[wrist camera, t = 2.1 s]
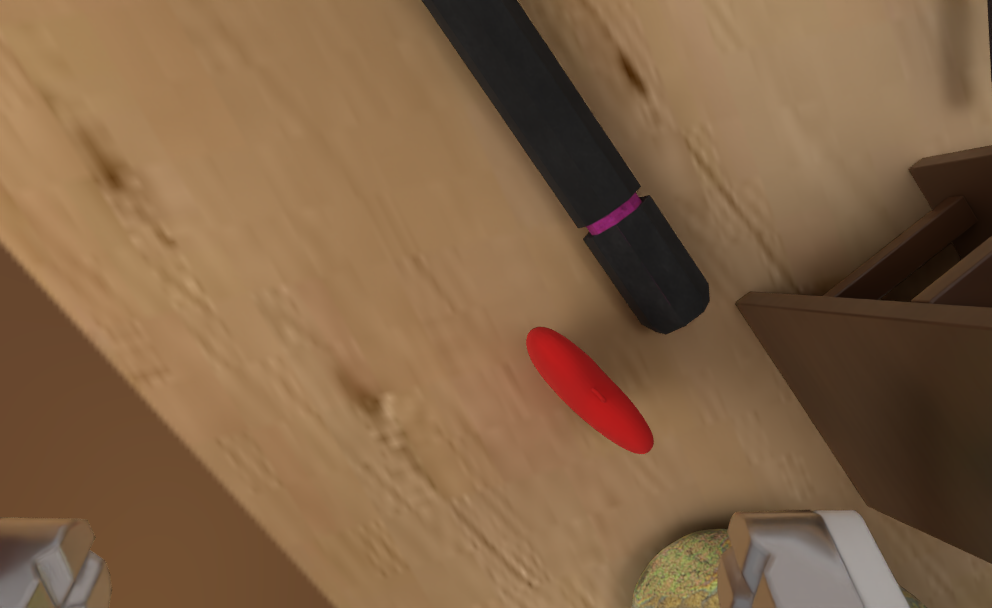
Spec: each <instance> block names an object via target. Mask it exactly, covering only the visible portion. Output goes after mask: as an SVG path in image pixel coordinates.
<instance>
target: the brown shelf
mask: <svg viewBox="0 0 992 608" xmlns="http://www.w3.org/2000/svg"><path fill="white" fill-rule="evenodd" d="M909 171H910V173H911V175H912V176H913V178H914V180H915V181H916V183H917V185H918V186H919V188H920V190H921V191H922V193H923V195H924V196H925V198H926V200H927V201H928V203H929V205H930V206H931V208H932V210H931V211H930V212H929V213H927V214H926V215H925V216H924V217H922V218H921V219H920V220H918V221H917V222H916V223H915V224H913V225H912V226H911V227H910V228H908V229H907V230H906V231H904V232H903V233H902V234H901V235H899V236H898V237H897V238H896V239H894V240H893V241H892V242H890V243H889V244H888V245H887V246H885V247H884V248H883V249H882V250H880V251H879V252H878V253H876V254H875V255H874V256H873V257H871V258H870V259H869V260H867V261H866V262H865V263H864V264H862V265H861V266H860V267H859V268H857V269H856V270H855V271H853V272H852V273H851V274H850V275H848V276H847V277H846V278H845V279H843V280H842V281H841V282H839V283H838V284H837V285H836V286H834V287H833V288H832V289H831V290H829V291H828V292H827V293H825V294H824V295H823V296H809V295H794V294H779V293H764V292H749V293H748V294H746V295H745V296H744V297H742V298H741V299H740V300H739V301H737V302H736V306H737V307H738V309H739V310H740V312H741V313H742V315H743V316H744V318H745V319H746V321H747V322H748V324H749V325H750V327H751V329H752V330H753V332H754V333H755V335H756V336H757V338H758V339H759V341H760V342H761V344H762V345H763V347H764V348H765V350H766V351H767V353H768V354H769V356H770V358H771V359H772V361H773V362H774V364H775V365H776V367H777V368H778V370H779V371H780V373H781V374H782V376H783V377H784V379H785V380H786V382H787V384H788V385H789V387H790V388H791V390H792V391H793V393H794V394H795V396H796V397H797V399H798V400H799V402H800V403H801V405H802V406H803V408H804V409H805V411H806V413H807V414H808V416H809V417H810V419H811V420H812V422H813V423H814V425H815V426H816V428H817V429H818V431H819V432H820V434H821V435H822V437H823V438H824V440H825V442H826V443H827V445H828V446H829V448H830V449H831V451H832V452H833V454H834V455H835V457H836V458H837V460H838V461H839V463H840V464H841V466H842V468H843V469H844V471H845V472H846V474H847V475H848V477H849V478H850V480H851V481H852V483H853V484H854V486H855V487H856V489H857V490H858V492H859V493H860V495H861V497H862V498H863V500H864V501H865V503H866V504H867V506H869V507H871V508H873V509H875V510H877V511H879V512H881V513H884V514H886V515H888V516H890V517H892V518H894V519H897V520H899V521H901V522H903V523H905V524H907V525H909V526H912V527H914V528H916V529H918V530H920V531H922V532H925V533H927V534H929V535H931V536H933V537H935V538H937V539H940V540H942V541H944V542H946V543H948V544H950V545H953V546H955V547H957V548H959V549H961V550H963V551H965V552H968V553H970V554H972V555H974V556H976V557H978V558H981V559H983V560H985V561H987V562H989V563H991V564H992V145H991V146H985V147H980V148H974V149H969V150H964V151H958V152H953V153H948V154H942V155H937V156H931V157H926V158H922V159H921V160H920V161H918V162H917V163H916V164H914V165H913V166H912V167H910V168H909ZM951 242H952V243H953V245H954V247H955V248H956V250H957V252H958V253H959V255H960V257H961V258H962V260H961V261H960V262H958V263H957V264H956V265H955V266H953V267H952V268H951V269H950V270H948V271H947V272H946V273H945V274H943V275H942V276H941V277H940V278H938V279H937V280H936V281H935V282H933V283H932V284H931V285H930V286H928V287H927V288H926V289H925V290H923V291H922V292H921V293H920V294H918V295H917V296H916V297H915V298H913V299H912V300H911V302H900V301H884V300H879V299H881V298H882V297H883V296H884V295H886V294H887V293H888V292H889V291H891V290H892V289H893V288H894V287H896V286H897V285H898V284H899V283H901V282H902V281H903V280H904V279H906V278H907V277H908V276H909V275H911V274H912V273H913V272H915V271H916V270H917V269H918V268H920V267H921V266H922V265H923V264H925V263H926V262H927V261H928V260H930V259H931V258H932V257H933V256H935V255H936V254H937V253H938V252H940V251H941V250H942V249H943V248H945V247H946V246H947V245H948V244H950V243H951Z"/></svg>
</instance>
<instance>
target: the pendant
mask: <svg viewBox="0 0 992 608" xmlns="http://www.w3.org/2000/svg"><path fill="white" fill-rule="evenodd" d="M526 345H527V350H528V353H529V356H530V358H531V360H532V362H533V364H534V366H535V367H536V369H537V370H538V372H539V373H540V375H541V376H542V377H543V378H544V380H545V381H546V382H547V383H548V384H549V386H550V387H551V388H552V389H553V390H554V391H555V392H556V393H557V394H558V396H559V397H560V398H561V399H562V400H563V401H564V402H565V403H566V404H567V405H568V406H569V407H570V408H571V409H572V410H573V411H574V412H576V413H577V414H578V415H579V416H580V417H581V418H582V419H583V420H585V421H586V422H587V423H588V424H589V425H591V426H592V427H593V428H594V429H596V430H597V431H598V432H600V433H601V434H602V435H604V436H605V437H606V438H608V439H609V440H611V441H612V442H614V443H615V444H617V445H619V446H620V447H622V448H624V449H626V450H628V451H631V452H633V453H637V454H645V453H648V452H649V451H650V450H651V449H652V447H653V444H654V440H653V435H652V432H651V430H650V428H649V426H648V424H647V423H646V421H645V419H644V418H643V416H642V415H641V414H640V412H639V411H638V409H637V408H636V407H635V406H634V404H633V403H632V402H631V401H630V399H629V398H628V397H627V396H626V395H625V394H624V393H623V391H622V390H621V389H620V388H619V387H618V386H617V385H616V384H615V383H614V382H613V381H612V380H611V379H610V378H609V377H608V376H607V375H606V374H605V373H604V372H603V371H602V370H601V369H600V367H599V366H598V365H597V364H596V363H595V362H594V361H593V360H592V359H591V358H590V357H589V356H588V355H587V354H586V353H585V352H584V351H582V350H581V349H580V348H579V347H577V346H576V345H575V344H574V343H572V342H571V341H570V340H568V339H567V338H566V337H564V336H563V335H561V334H559V333H558V332H556V331H554V330H552V329H549V328H545V327H536V328H534V329H532V330H531V331H530V332H529V333H528V335H527V339H526Z"/></svg>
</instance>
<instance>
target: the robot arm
mask: <svg viewBox="0 0 992 608" xmlns="http://www.w3.org/2000/svg"><path fill="white" fill-rule="evenodd" d="M727 532H728V535H729V538H730V541H731V545H732V546H731V547H730V548H728V549H727V550H726V551H725V552H723V553H722V554H721V557H720V562H719V566H718V571H717V593H718V599H719V605H720V608H910V606H909V604H908V602H907V600H906V598H905V596H904V595H903V593H902V591H901V589H900V587H899V585H898V583H897V581H896V580H895V578H894V576H893V574H892V572H891V570H890V568H889V566H888V564H887V563H886V561H885V559H884V557H883V555H882V553H881V551H880V549H879V548H878V546H877V544H876V542H875V540H874V538H873V536H872V534H871V532H870V531H869V529H868V527H867V525H866V523H865V521H864V519H863V517H862V516H861V515H860V514H858V513H857V512H856V511H855V510H816V511H811V510H784V511H739V512H735V514H734V515H733V516H732V517H731V520H730V523H729V527H728V530H727ZM94 539H95V535H94V533H93V531H92V529H91V527H90V524H89V522H88V520H86V519H66V518H64V519H63V518H8V517H6V518H5V517H4V518H3V517H0V608H109V603H110V597H111V592H112V588H111V579H110V572H109V569H108V567H107V564H106V562H105V560H103V559H102V558H101V557H99V556H98V555H96V554H95V553H93V552H92V551H90V548H91V546H92V544H93V541H94Z"/></svg>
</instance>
